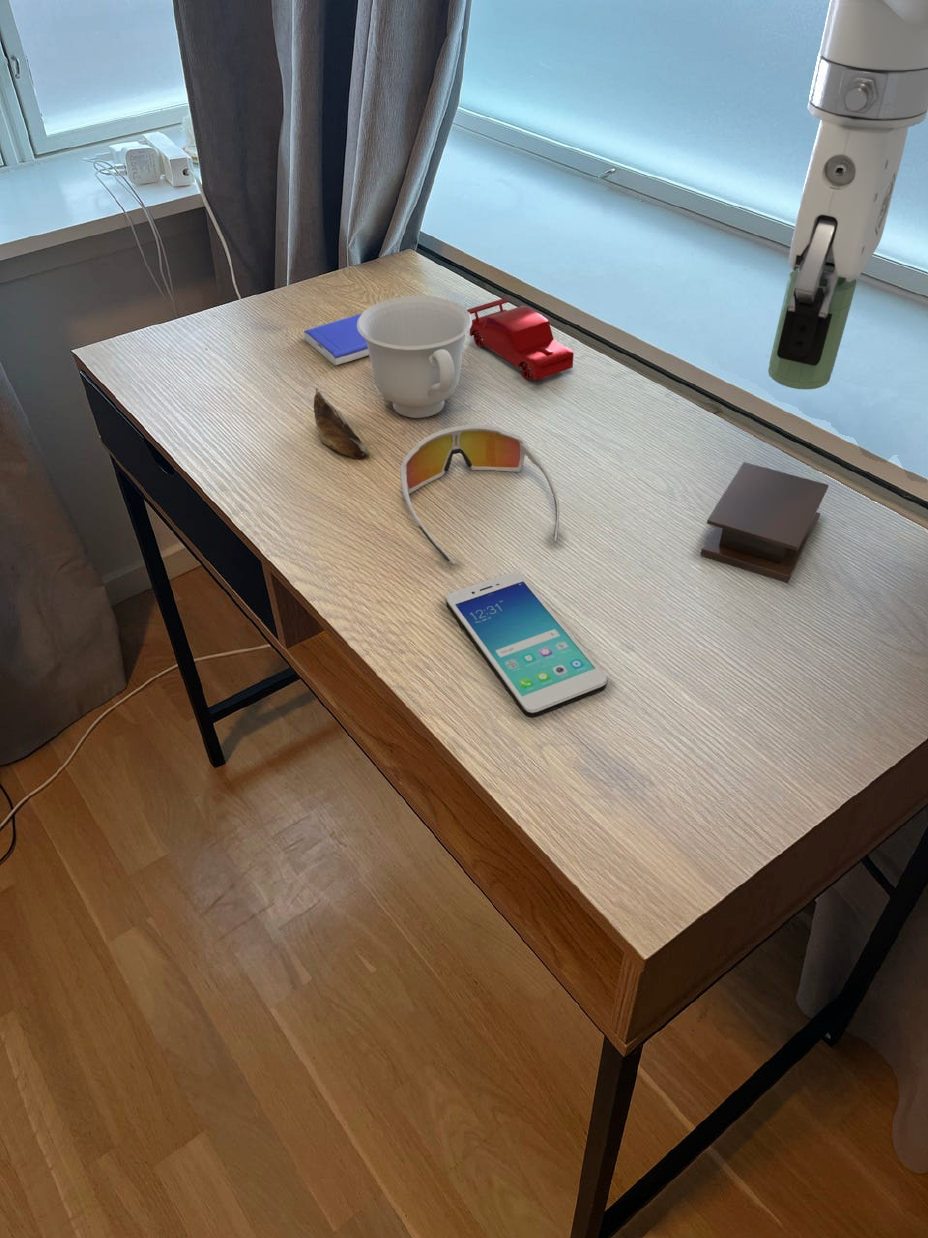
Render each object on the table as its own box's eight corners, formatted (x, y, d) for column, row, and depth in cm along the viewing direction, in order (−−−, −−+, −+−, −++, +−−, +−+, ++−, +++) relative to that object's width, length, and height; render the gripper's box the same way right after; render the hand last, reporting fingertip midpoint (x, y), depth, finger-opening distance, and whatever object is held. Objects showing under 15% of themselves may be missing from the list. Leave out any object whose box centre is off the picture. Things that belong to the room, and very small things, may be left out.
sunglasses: (518, 451, 100) (522, 412, 96) (574, 553, 91) (581, 515, 87) (386, 477, 97) (384, 439, 93) (430, 586, 88) (430, 548, 84)
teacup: (397, 458, 99) (391, 370, 93) (349, 391, 109) (340, 307, 103) (502, 431, 103) (504, 344, 96) (447, 369, 113) (444, 286, 106)
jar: (836, 368, 78) (863, 271, 73) (821, 395, 75) (848, 296, 70) (777, 354, 80) (799, 259, 74) (760, 380, 77) (782, 283, 71)
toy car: (466, 341, 118) (466, 302, 115) (503, 328, 120) (504, 290, 117) (535, 388, 109) (536, 348, 106) (573, 374, 112) (576, 334, 108)
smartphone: (527, 713, 72) (441, 594, 82) (527, 720, 73) (442, 602, 83) (611, 680, 75) (518, 569, 85) (610, 687, 75) (518, 576, 85)
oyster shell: (357, 480, 104) (305, 406, 105) (384, 458, 103) (331, 385, 104) (338, 473, 98) (283, 395, 99) (367, 450, 98) (311, 372, 99)
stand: (818, 519, 91) (829, 484, 88) (788, 583, 84) (798, 547, 82) (735, 496, 94) (743, 461, 91) (700, 555, 87) (707, 520, 84)
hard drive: (391, 302, 123) (303, 328, 118) (425, 326, 118) (335, 354, 113) (391, 314, 124) (305, 340, 119) (425, 338, 119) (336, 367, 114)
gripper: (905, 132, 57) (828, 406, 69) (953, 64, 67) (879, 311, 80) (778, 115, 59) (726, 381, 72) (844, 52, 70) (789, 293, 82)
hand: (807, 342), depth 76 cm, fingers closed on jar, 4 cm apart
